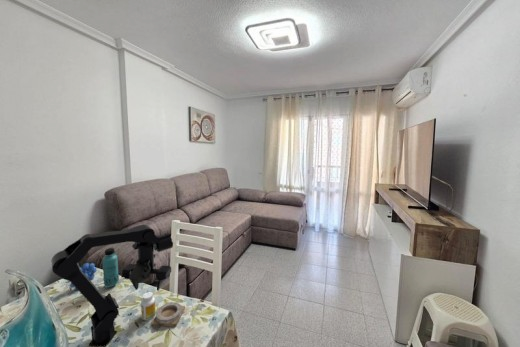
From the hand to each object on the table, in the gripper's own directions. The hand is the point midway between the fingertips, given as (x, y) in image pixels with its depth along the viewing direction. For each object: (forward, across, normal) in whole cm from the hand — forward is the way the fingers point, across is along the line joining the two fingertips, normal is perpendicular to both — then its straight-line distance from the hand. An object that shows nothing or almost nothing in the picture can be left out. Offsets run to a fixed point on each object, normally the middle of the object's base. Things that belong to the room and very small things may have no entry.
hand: (147, 289), depth 93 cm
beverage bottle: (+12, -29, +18) cm, 36 cm away
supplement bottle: (+12, 0, 0) cm, 13 cm away
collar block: (+12, +9, 0) cm, 15 cm away
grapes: (+12, -43, +17) cm, 48 cm away
